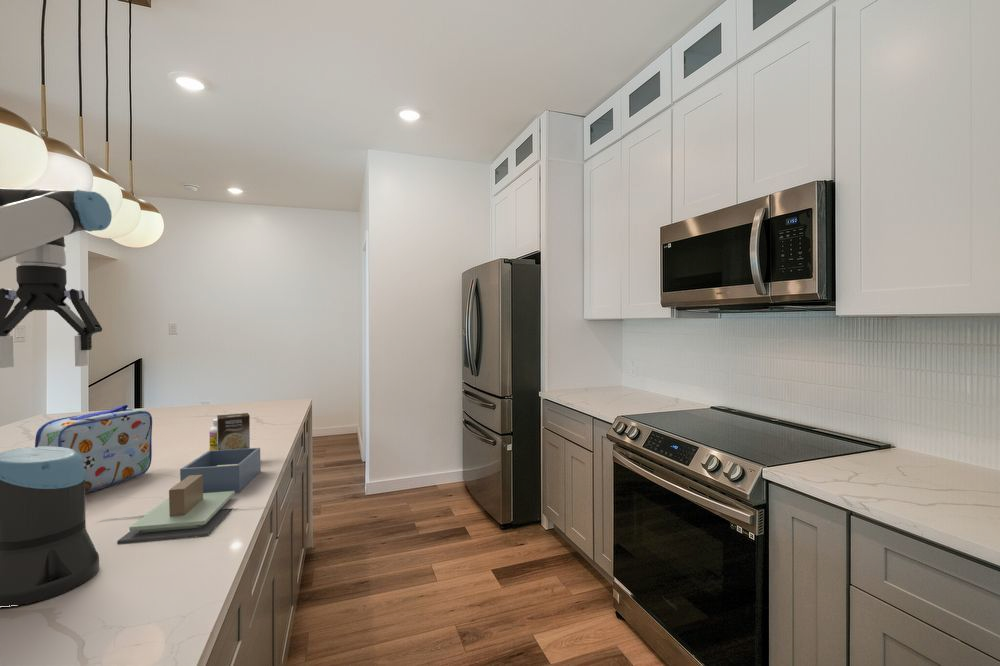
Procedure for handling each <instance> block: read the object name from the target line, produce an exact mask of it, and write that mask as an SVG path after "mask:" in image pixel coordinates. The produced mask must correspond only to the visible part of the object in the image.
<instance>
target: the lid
mask: <svg viewBox="0 0 1000 666" xmlns="http://www.w3.org/2000/svg"><path fill="white" fill-rule="evenodd" d="M235 494H236V493H235V491H226V492H212V493H203V475H189V476H188V477H186V478H185V479H184V480H182V481H181V482H180V481H179V482H178V483H176V484H175V485H173V487H171V488H170V489H169V490H168V498H166V499H165V500H164V501H162V502H161V503H159V504H158V505H157V506H155V508H152V510H151V511H149V512H148V513H146V514H144V516H142V517H141V518H140V519H138V520H137V521H136V522H135V523H133V524H132V525H130V526H129V532H130V531H135V530H142V533H144V532H155V531H166V530H178V529H189V528H200V527H201V526H202V525H203V524H206V523H207V522H208V521H209V520H210V519H211V518H212V517H213V516H214V515H215V514H216V513H217V512H218V511H219V510H220V509H221V508H223V507H224V505H225V504H227V502H229V501H230V500H231V498H233V496H234V495H235Z"/></svg>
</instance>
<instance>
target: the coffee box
mask: <svg viewBox="0 0 1000 666" xmlns="http://www.w3.org/2000/svg"><path fill="white" fill-rule="evenodd" d="M250 419H251V417H250V414H249V413H248V412H246V413H245V412H243V413H233V414H232V413H230V414H219V415H217V450H227V449H246V448H251V447H250V443H251V441H250V437H251V436H250V423H251V422H250Z"/></svg>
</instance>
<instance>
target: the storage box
mask: <svg viewBox="0 0 1000 666" xmlns="http://www.w3.org/2000/svg"><path fill="white" fill-rule="evenodd" d="M232 464H237V465H232ZM217 465H228V466H217ZM260 473H261V447H250V448H246V449H227V450H210V449H209V450H208V451H206V452H204V453H203V454H202V455H200V456H198V457H197V458H195V459H194V460H192V461H190V462H189V463H188V464H186V465H184V466H182V467H181V468H180V469H179V476H180V481H179V482H181V481H182V480H184V479H185V478H186V477H188V476H189V475H203V493H212V492H226V491H235V494H239V493H240V494H241V492H242V491H243V490H244V489H245V488H246V487H247V486H248V485H249V484H250V483H251V482H252V481H253V480H254V478H256V477H257V476H258V475H259V474H260Z"/></svg>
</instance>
